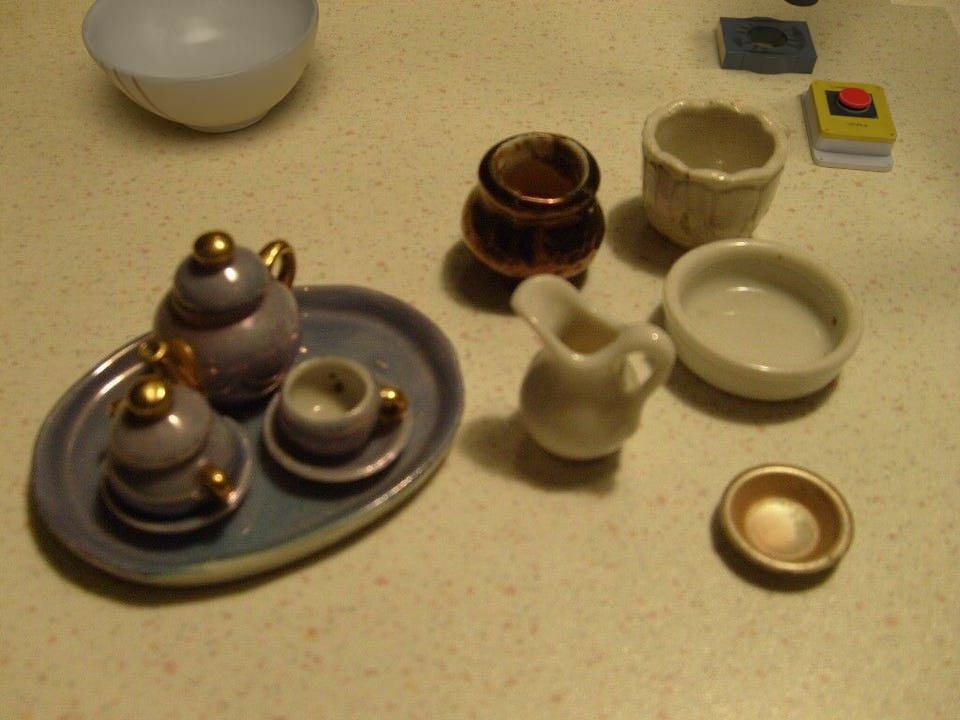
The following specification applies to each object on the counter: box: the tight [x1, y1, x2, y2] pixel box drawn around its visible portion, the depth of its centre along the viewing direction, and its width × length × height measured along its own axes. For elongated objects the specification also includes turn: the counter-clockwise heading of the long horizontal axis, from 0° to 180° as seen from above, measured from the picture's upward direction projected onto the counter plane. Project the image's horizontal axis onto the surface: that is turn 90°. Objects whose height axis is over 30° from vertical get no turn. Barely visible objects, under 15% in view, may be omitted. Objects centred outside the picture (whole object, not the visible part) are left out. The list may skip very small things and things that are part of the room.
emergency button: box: [800, 79, 898, 173], centre depth 105 cm, size 9×4×15 cm
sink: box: [715, 16, 818, 75], centre depth 117 cm, size 12×10×2 cm
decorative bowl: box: [81, 0, 320, 134], centre depth 104 cm, size 27×27×12 cm
